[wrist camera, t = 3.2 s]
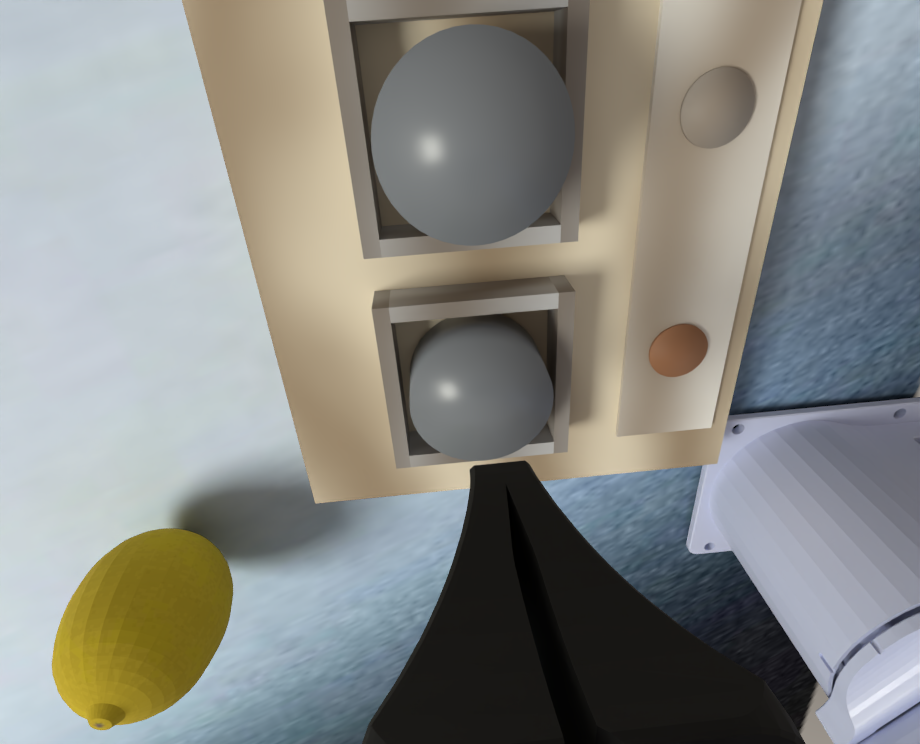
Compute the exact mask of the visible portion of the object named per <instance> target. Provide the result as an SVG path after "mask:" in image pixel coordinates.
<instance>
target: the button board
mask: <svg viewBox="0 0 920 744" xmlns="http://www.w3.org/2000/svg"><path fill="white" fill-rule="evenodd" d="M182 2H183V6H184V10H185V14H186V17H187V21H188V25H189V29H190V33H191V36H192V40H193V44H194V48H195V51H196V55H197V59H198V63H199V67H200V70H201V74H202V78H203V82H204V85H205V89H206V93H207V97H208V101H209V104H210V108H211V112H212V116H213V119H214V123H215V127H216V131H217V135H218V138H219V142H220V146H221V150H222V153H223V157H224V161H225V165H226V168H227V172H228V176H229V180H230V184H231V187H232V191H233V195H234V199H235V202H236V206H237V210H238V214H239V218H240V221H241V225H242V229H243V233H244V236H245V240H246V244H247V248H248V252H249V255H250V259H251V263H252V267H253V270H254V274H255V278H256V282H257V286H258V289H259V293H260V297H261V301H262V304H263V308H264V312H265V316H266V319H267V323H268V327H269V331H270V335H271V338H272V342H273V346H274V350H275V353H276V357H277V361H278V365H279V369H280V372H281V376H282V380H283V384H284V387H285V391H286V395H287V399H288V403H289V406H290V410H291V414H292V418H293V421H294V425H295V429H296V433H297V436H298V440H299V444H300V448H301V452H302V455H303V459H304V463H305V467H306V470H307V474H308V478H309V482H310V486H311V489H312V493H313V497H314V501H315V504H316V503H326V502H336V501H346V500H356V499H366V498H376V497H386V496H397V495H407V494H417V493H427V492H437V491H447V490H457V489H467V488H470V469H471V468H472V467H473V466H474V465H484V464H494V463H504V462H514V461H524V460H525V461H526V462H528V463H529V464H530V466H531V467H532V469H533V471H534V472H535V474H536V476H537V477H538V479H539V480H540V481H548V480H558V479H568V478H578V477H588V476H598V475H609V474H619V473H629V472H639V471H649V470H659V469H669V468H679V467H689V466H699V465H710V464H717V463H718V459H719V454H720V450H721V445H722V441H723V437H724V432H725V428H726V424H727V419H728V415H729V410H730V406H731V402H732V397H733V393H734V389H735V384H736V380H737V376H738V371H739V367H740V362H741V358H742V354H743V349H744V345H745V341H746V336H747V332H748V327H749V323H750V319H751V314H752V310H753V306H754V301H755V297H756V292H757V288H758V284H759V279H760V275H761V271H762V266H763V262H764V258H765V253H766V249H767V244H768V240H769V236H770V231H771V227H772V223H773V218H774V214H775V209H776V205H777V201H778V196H779V192H780V188H781V183H782V179H783V174H784V170H785V166H786V161H787V157H788V153H789V148H790V144H791V140H792V135H793V131H794V126H795V122H796V118H797V113H798V109H799V105H800V100H801V96H802V91H803V87H804V83H805V78H806V74H807V70H808V65H809V61H810V57H811V52H812V48H813V43H814V39H815V35H816V30H817V26H818V22H819V17H820V13H821V8H822V4H823V0H182ZM468 24H481V25H489V26H495V27H500V28H503V29H506V30H509V31H512V32H514V33H516V34H517V35H519V36H521V37H523V38H525V39H526V40H528V41H529V42H531V43H532V44H533V45H535V46H536V47H537V48H538V49H539V50H540V51H541V52H542V53H544V54H545V55H546V56H547V57H548V59H549V60H550V61H551V63H552V64H553V65H554V67H555V68H556V69H557V71H558V73H559V74H560V76H561V78H562V80H563V82H564V84H565V86H566V89H567V91H568V94H569V97H570V100H571V104H572V108H573V114H574V121H575V143H574V152H573V157H572V161H571V166H570V169H569V172H568V174H567V177H566V180H565V182H564V184H563V186H562V188H561V190H560V192H559V193H558V195H557V197H556V198H555V200H554V201H553V203H552V204H551V205H550V206H549V208H548V209H547V210H546V211H545V212H544V213H543V214H542V215H541V216H540V217H539V218H538V219H537V220H536V221H535V222H534V223H532V224H531V225H530V226H529V227H527V228H526V229H524V230H523V231H521V232H519V233H518V234H516V235H514V236H512V237H509V238H507V239H505V240H502V241H499V242H495V243H491V244H485V245H479V246H464V245H455V244H451V243H447V242H443V241H440V240H437V239H435V238H432V237H430V236H428V235H426V234H425V233H423V232H421V231H419V230H418V229H417V228H415V227H414V226H412V225H411V224H410V223H409V222H408V221H407V220H406V219H404V218H403V217H402V216H401V215H400V214H399V212H398V211H397V210H396V209H395V207H394V206H393V205H392V204H391V202H390V200H389V199H388V197H387V196H386V194H385V192H384V190H383V188H382V186H381V184H380V182H379V179H378V176H377V173H376V170H375V166H374V161H373V156H372V147H371V126H372V119H373V113H374V108H375V105H376V102H377V99H378V95H379V93H380V91H381V89H382V86H383V84H384V82H385V80H386V78H387V77H388V75H389V74H390V72H391V70H392V69H393V67H394V66H395V65H396V64H397V63H398V61H399V60H400V59H401V58H402V57H403V56H404V55H405V54H406V53H407V52H408V51H409V50H410V49H411V48H412V47H413V46H415V45H416V44H418V43H419V42H421V41H422V40H423V39H425V38H426V37H428V36H431V35H433V34H435V33H437V32H439V31H441V30H445V29H448V28H451V27H454V26H461V25H468ZM491 314H500V315H503V316H506V317H508V318H510V319H512V320H514V321H515V322H517V323H518V324H520V325H521V326H522V327H523V328H524V329H525V330H526V331H527V332H528V333H529V334H530V336H531V337H532V338H533V340H534V342H535V344H536V346H537V348H538V351H539V353H540V355H541V358H542V360H543V362H544V364H545V367H546V369H547V371H548V374H549V376H550V379H551V382H552V386H553V395H554V399H553V406H552V410H551V414H550V416H549V418H548V421H547V422H546V424H545V426H544V428H543V429H542V430H541V431H540V433H539V434H538V435H537V436H536V437H535V438H534V439H533V440H532V441H531V442H529V443H528V444H527V445H526V446H524V447H523V448H521V449H519V450H518V451H516V452H514V453H512V454H509V455H506V456H504V457H500V458H497V459H492V460H485V461H468V460H462V459H457V458H453V457H450V456H448V455H445V454H443V453H441V452H439V451H437V450H436V449H434V448H433V447H431V446H430V445H429V444H428V443H427V442H426V441H425V440H424V439H423V438H422V437H421V436H420V434H419V433H418V431H417V430H416V428H415V426H414V424H413V421H412V418H411V413H410V364H411V359H412V355H413V353H414V350H415V348H416V346H417V345H418V343H419V341H420V340H421V339H422V337H423V336H424V335H425V334H426V333H427V332H428V331H429V330H430V329H431V328H432V327H434V326H435V325H436V324H438V323H439V322H441V321H443V320H445V319H446V318H457V317H468V316H479V315H491Z"/></svg>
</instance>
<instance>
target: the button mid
mask: <svg viewBox="0 0 920 744" xmlns="http://www.w3.org/2000/svg"><path fill="white" fill-rule="evenodd" d="M574 143H575V121H574V114H573V108H572V104H571V100H570V97H569V94H568V91H567V89H566V86H565V84H564V82H563V80H562V78H561V76H560V74H559V73H558V71H557V69H556V68H555V67H554V65H553V64H552V63H551V61H550V60H549V59H548V57H547V56H546V55H545V54H544V53H542V52H541V51H540V50H539V49H538V48H537V47H536V46H535V45H533V44H532V43H531V42H529V41H528V40H526V39H525V38H523V37H521V36H519V35H517V34H516V33H514V32H512V31H509V30H506V29H503V28H500V27H495V26H489V25H481V24H468V25H461V26H454V27H451V28H448V29H445V30H441V31H439V32H437V33H435V34H433V35H431V36H428V37H426V38H425V39H423V40H422V41H421V42H419V43H418V44H416V45H415V46H413V47H412V48H411V49H410V50H409V51H408V52H407V53H406V54H405V55H404V56H403V57H402V58H401V59H400V60H399V61H398V63H397V64H396V65H395V66H394V67H393V69H392V70H391V72H390V74H389V75H388V77H387V78H386V80H385V82H384V84H383V86H382V89H381V91H380V93H379V95H378V99H377V102H376V105H375V108H374V113H373V119H372V126H371V147H372V156H373V161H374V166H375V170H376V173H377V176H378V179H379V182H380V184H381V186H382V188H383V190H384V192H385V194H386V196H387V197H388V199H389V200H390V202H391V204H392V205H393V206H394V207H395V209H396V210H397V211H398V212H399V214H400V215H401V216H402V217H403V218H404V219H406V220H407V221H408V222H409V223H410V224H411V225H412V226H414V227H415V228H417V229H418V230H419V231H421V232H423V233H425V234H426V235H428V236H430V237H432V238H435V239H437V240H440V241H443V242H447V243H451V244H455V245H464V246H479V245H485V244H491V243H495V242H499V241H502V240H505V239H507V238H509V237H512V236H514V235H516V234H518V233H519V232H521V231H523V230H524V229H526V228H527V227H529V226H530V225H531V224H532V223H534V222H535V221H536V220H537V219H538V218H539V217H540V216H541V215H542V214H543V213H544V212H545V211H546V210H547V209H548V208H549V206H550V205H551V204H552V203H553V201H554V200H555V198H556V197H557V195H558V193H559V192H560V190H561V188H562V186H563V184H564V182H565V180H566V177H567V174H568V172H569V169H570V166H571V161H572V157H573V152H574Z"/></svg>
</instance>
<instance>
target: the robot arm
mask: <svg viewBox="0 0 920 744" xmlns="http://www.w3.org/2000/svg"><path fill="white" fill-rule="evenodd" d="M738 424H739V425H738ZM736 425H738V426H737V427H736V428H734V429H733V427H734V426H736ZM686 546H687V548H688V549H689V551H690V552H691V553H693V554H703V553H712V552H722V551H731V550H732V551H733V552H734V554H735V555H736V557H737V558H738V560H739V561H740V563H741V564H742V566H743V567H744V569H745V571H746V572H747V574H748V575H749V577H750V578H751V580H752V581H753V583H754V584H755V586H756V587H757V589H758V590H759V592H760V594H761V595H762V597H763V598H764V600H765V601H766V603H767V604H768V606H769V607H770V609H771V610H772V612H773V613H774V615H775V617H776V618H777V620H778V621H779V623H780V624H781V626H782V627H783V629H784V630H785V632H786V633H787V635H788V637H789V638H790V640H791V641H792V643H793V644H794V646H795V647H796V649H797V650H798V652H799V653H800V655H801V656H802V658H803V660H804V661H805V663H806V664H807V666H808V667H809V669H810V670H811V672H812V673H813V675H814V676H815V678H816V679H817V681H818V683H819V684H820V686H821V687H822V689H823V690H824V692H825V693H826V695H827V696H828V698H829V699H828V700H827V702H826V703H825V704H824V705H823V706H821V707H820V708H819V709H818V710H817V711H816V715H817V717H818V719H819V720H820V722H821V723H822V725H823V727H824V728H825V730H826V732H827V733H828V735H829V736H830V738H831V740H832V741H833V743H834V744H920V397H917V398H906V399H896V400H885V401H875V402H865V403H854V404H844V405H833V406H823V407H813V408H802V409H792V410H781V411H771V412H760V413H750V414H740V415H729V416H728V419H727V424H726V428H725V432H724V437H723V441H722V445H721V450H720V454H719V459H718V463H717V464H710V465H703V466H702V471H701V476H700V480H699V485H698V490H697V495H696V499H695V504H694V509H693V513H692V518H691V523H690V528H689V532H688V537H687V542H686ZM362 744H805V742H804V740H803V739H802V737H801V735H800V733H799V732H798V730H797V728H796V726H795V725H794V723H793V721H792V719H791V718H790V716H789V715H788V714H787V712H786V711H785V709H784V708H783V706H782V705H781V703H780V702H779V701H778V699H777V698H776V696H775V695H774V694H773V692H772V691H771V690H770V688H769V687H768V685H767V684H766V683H765V681H764V680H762V679H761V678H759V677H758V676H756V675H754V674H753V673H751V672H750V671H748V670H746V669H745V668H743V667H741V666H740V665H738V664H737V663H735V662H733V661H732V660H730V659H729V658H727V657H725V656H724V655H722V654H721V653H719V652H717V651H716V650H714V649H713V648H711V647H710V646H708V645H707V644H706V643H704V642H703V641H701V640H700V639H698V638H697V637H696V636H694V635H693V634H691V633H690V632H689V631H687V630H686V629H684V628H683V627H682V626H681V625H679V624H678V623H677V622H676V621H674V620H673V619H672V618H670V617H669V616H668V615H667V614H665V613H664V612H663V611H662V610H660V609H659V608H658V607H656V606H655V605H654V604H653V603H651V602H650V601H649V600H648V599H646V598H645V597H644V596H643V595H642V594H641V593H640V592H638V591H637V590H636V589H635V588H634V587H633V586H632V585H631V584H629V583H628V582H627V581H626V580H625V579H624V578H623V577H622V576H621V575H620V574H619V573H618V572H617V571H615V570H614V569H613V568H612V567H611V566H610V565H609V564H608V563H607V562H606V561H605V560H604V559H603V558H602V557H601V556H600V555H599V553H598V552H597V551H596V550H595V549H594V548H593V547H592V546H591V545H590V544H589V543H588V542H587V540H586V539H585V538H584V537H583V536H582V535H581V534H580V533H579V531H578V530H577V529H576V528H575V527H574V526H573V524H572V523H571V522H570V521H569V519H568V518H567V517H566V516H565V514H564V513H563V512H562V511H561V509H560V508H559V507H558V506H557V504H556V503H555V502H554V500H553V499H552V498H551V496H550V495H549V493H548V492H547V491H546V489H545V488H544V486H543V485H542V483H541V482H540V480H539V479H538V477H537V476H536V474H535V472H534V471H533V469H532V467H531V466H530V464H529V463H528V462H526V461H525V460H524V461H514V462H504V463H494V464H484V465H474V466H473V467H472V468H471V469H470V492H469V500H468V506H467V511H466V516H465V520H464V524H463V529H462V533H461V537H460V540H459V543H458V547H457V550H456V553H455V556H454V560H453V563H452V566H451V569H450V571H449V574H448V577H447V580H446V582H445V585H444V587H443V590H442V592H441V595H440V597H439V599H438V602H437V604H436V606H435V608H434V611H433V613H432V615H431V617H430V619H429V622H428V624H427V626H426V628H425V630H424V632H423V634H422V636H421V638H420V640H419V642H418V643H417V645H416V647H415V649H414V651H413V652H412V654H411V656H410V658H409V660H408V661H407V663H406V665H405V667H404V669H403V670H402V672H401V674H400V676H399V677H398V679H397V681H396V682H395V684H394V686H393V687H392V689H391V690H390V692H389V693H388V695H387V696H386V698H385V699H384V701H383V702H382V704H381V706H380V707H379V709H378V710H377V712H376V713H375V715H374V716H373V718H372V719H371V721H370V723H369V725H368V728H367V731H366V734H365V737H364V740H363V743H362Z"/></svg>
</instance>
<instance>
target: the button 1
mask: <svg viewBox="0 0 920 744" xmlns="http://www.w3.org/2000/svg"><path fill="white" fill-rule="evenodd" d="M553 399H554V395H553V386H552V382H551V379H550V376H549V374H548V371H547V369H546V367H545V364H544V362H543V360H542V358H541V355H540V353H539V351H538V348H537V346H536V344H535V342H534V340H533V338H532V337H531V336H530V334H529V333H528V332H527V331H526V330H525V329H524V328H523V327H522V326H521V325H520V324H518V323H517V322H515V321H514V320H512V319H510V318H508V317H506V316H503V315H500V314H491V315H479V316H468V317H457V318H446V319H445V320H443V321H441V322H439V323H438V324H436V325H435V326H434V327H432V328H431V329H430V330H429V331H428V332H427V333H426V334H425V335H424V336H423V337H422V339H421V340H420V341H419V343H418V345H417V346H416V348H415V350H414V353H413V355H412V359H411V364H410V413H411V418H412V421H413V424H414V426H415V428H416V430H417V431H418V433H419V434H420V436H421V437H422V438H423V439H424V440H425V441H426V442H427V443H428V444H429V445H430V446H431V447H433V448H434V449H436V450H437V451H439V452H441V453H443V454H445V455H448V456H450V457H453V458H457V459H462V460H468V461H485V460H492V459H497V458H500V457H504V456H506V455H509V454H512V453H514V452H516V451H518V450H519V449H521V448H523V447H524V446H526V445H527V444H528V443H529V442H531V441H532V440H533V439H534V438H535V437H536V436H537V435H538V434H539V433H540V431H541V430H542V429H543V428H544V426H545V424H546V422H547V421H548V418H549V416H550V414H551V410H552V406H553Z"/></svg>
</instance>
